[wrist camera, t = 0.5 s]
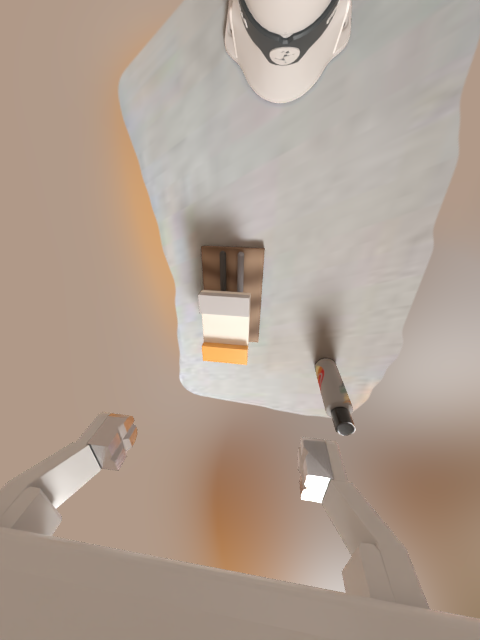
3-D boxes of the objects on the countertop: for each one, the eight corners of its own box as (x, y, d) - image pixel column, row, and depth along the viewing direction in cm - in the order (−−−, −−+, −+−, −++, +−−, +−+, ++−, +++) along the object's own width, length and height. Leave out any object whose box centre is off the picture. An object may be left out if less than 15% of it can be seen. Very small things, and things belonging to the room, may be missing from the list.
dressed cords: (220, 250, 49) (218, 251, 48) (244, 251, 49) (243, 252, 47) (221, 303, 55) (220, 306, 54) (243, 305, 55) (242, 307, 54)
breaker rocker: (201, 289, 45) (198, 294, 43) (250, 293, 44) (249, 298, 42) (206, 353, 53) (203, 360, 51) (247, 357, 52) (246, 364, 50)
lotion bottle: (311, 371, 63) (326, 436, 46) (318, 355, 61) (337, 418, 43) (331, 375, 63) (353, 442, 46) (339, 360, 61) (366, 425, 43)
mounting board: (203, 245, 51) (201, 246, 49) (264, 248, 49) (264, 249, 48) (208, 335, 62) (206, 337, 61) (258, 339, 61) (258, 342, 59)
